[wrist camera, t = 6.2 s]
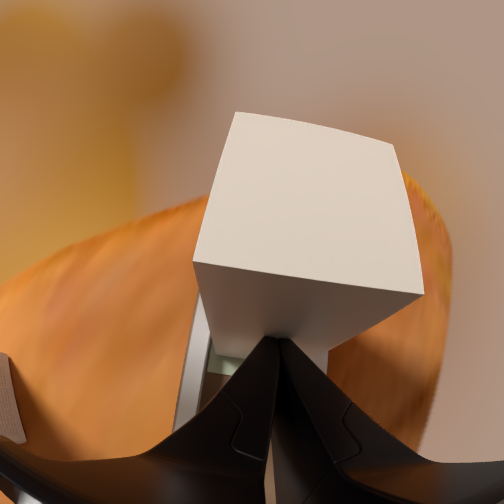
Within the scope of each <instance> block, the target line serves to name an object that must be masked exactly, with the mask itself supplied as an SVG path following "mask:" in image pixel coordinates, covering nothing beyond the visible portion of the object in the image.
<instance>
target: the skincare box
mask: <svg viewBox="0 0 504 504" xmlns="http://www.w3.org/2000/svg"><path fill="white" fill-rule="evenodd" d="M0 435H3V436H5V437H8V438H9V439H11V440H12V441H14V442H15V443H17V444H21V443H26V442H27V439H26V436H25V433H24V430H23V427H22V423H21V420H20V416H19V412H18V408H17V404H16V400H15V395H14V390H13V385H12V380H11V375H10V368H9V362H8V355H7V354H5V353H2V352H0Z"/></svg>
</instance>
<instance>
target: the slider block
mask: <svg viewBox="0 0 504 504" xmlns="http://www.w3.org/2000/svg"><path fill="white" fill-rule="evenodd" d="M193 265H194V270H195V274H196V278H197V283H198V287H199V291H200V295H201V299H202V303H203V307H204V311H205V315H206V319H207V323H208V327H209V330H210V334H211V338H212V341H213V345H214V349H215V352H216V355H222V356H229V357H235V358H242V359H246V357H247V356H248V355H249V354H250V352H251V351H252V350H253V349H254V347H255V346H256V345H257V343H258V342H259V341H260V340H261V338H262V337H263V336H270V337H276V338H277V339H278V338H286V339H291V340H292V341H293V342H294V343H295V344H296V345H297V346H298V347H299V348H300V349H301V350H302V351H303V352H304V353H305V354H306V355H307V356H308V357H309V358H310V359H313V358H315V357H317V356H319V355H321V354H323V353H325V352H327V351H329V350H331V349H333V348H335V347H336V346H338V345H340V344H342V343H344V342H346V341H348V340H350V339H351V338H353V337H355V336H357V335H359V334H361V333H362V332H364V331H366V330H368V329H369V328H371V327H373V326H375V325H376V324H378V323H380V322H381V321H383V320H385V319H386V318H388V317H390V316H391V315H393V314H395V313H396V312H398V311H399V310H401V309H403V308H404V307H406V306H407V305H409V304H410V303H412V302H414V301H415V300H417V299H418V298H420V297H421V296H423V295H424V287H423V279H422V271H421V264H420V257H419V251H418V245H417V239H416V234H415V229H414V224H413V219H412V214H411V210H410V205H409V201H408V197H407V193H406V189H405V185H404V181H403V177H402V174H401V170H400V167H399V164H398V160H397V157H396V153H395V150H394V147H393V145H392V144H389V143H386V142H382V141H379V140H376V139H372V138H369V137H365V136H361V135H358V134H354V133H350V132H345V131H342V130H338V129H334V128H329V127H325V126H320V125H315V124H310V123H306V122H301V121H295V120H290V119H284V118H278V117H272V116H265V115H258V114H251V113H243V112H235V115H234V119H233V122H232V125H231V128H230V131H229V134H228V137H227V140H226V143H225V147H224V150H223V153H222V156H221V160H220V163H219V166H218V169H217V173H216V176H215V180H214V183H213V187H212V190H211V193H210V197H209V200H208V204H207V208H206V211H205V215H204V218H203V222H202V226H201V230H200V233H199V237H198V241H197V245H196V249H195V253H194V257H193Z"/></svg>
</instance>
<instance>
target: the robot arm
mask: <svg viewBox="0 0 504 504" xmlns="http://www.w3.org/2000/svg"><path fill="white" fill-rule="evenodd" d="M270 439H271V444H272V457H273V470H274V483H275V496H276V504H504V461H493V462H476V463H440V462H434V461H431V460H428V459H426V458H423V457H422V456H420V455H418V454H417V453H416V452H414V451H413V450H411V449H410V448H409V447H407V446H406V445H405V444H403V443H402V442H400V441H399V440H398V439H396V438H395V437H394V436H392V435H391V434H390V433H388V432H387V431H386V430H385V429H383V428H382V427H381V426H380V425H378V424H377V423H376V422H375V421H373V420H372V419H371V418H370V417H369V416H368V415H367V414H366V413H365V412H363V411H362V410H361V409H360V408H359V407H358V406H357V405H356V404H355V403H354V402H352V400H351V399H350V398H349V397H348V396H347V395H346V394H345V393H344V392H343V391H342V390H341V389H340V388H339V387H338V386H337V385H336V384H335V383H334V382H333V381H332V380H331V379H330V378H329V377H328V376H327V375H326V374H325V373H324V372H323V371H322V370H321V369H320V368H319V367H318V366H317V365H316V364H315V363H314V362H313V361H312V360H311V359H310V358H309V357H308V356H307V355H306V354H305V353H304V352H303V351H302V350H301V349H300V348H299V347H298V346H297V345H296V344H295V343H294V342H293V341H292V340H291V339H286V338H278V339H277V338H276V337H270V336H263V337H262V338H261V340H260V341H259V342H258V343H257V345H256V346H255V347H254V349H253V350H252V351H251V352H250V354H249V355H248V356H247V357H246V359H245V360H244V361H243V362H242V363H241V365H240V366H239V367H238V368H237V370H236V371H235V372H234V373H233V374H232V376H231V377H230V378H229V379H228V381H227V382H226V383H225V384H224V385H223V387H222V388H221V389H220V390H219V391H218V392H217V393H216V395H215V396H214V397H213V398H212V399H211V400H210V401H209V402H208V403H207V404H206V406H205V407H204V408H203V409H202V410H201V411H199V412H198V413H197V414H196V415H195V416H194V417H192V418H191V419H190V420H189V421H188V422H186V423H185V424H184V425H183V426H181V427H180V428H179V429H177V430H176V431H175V432H173V433H172V434H171V435H170V436H168V437H167V438H166V439H164V440H163V441H162V442H160V443H159V444H157V445H156V446H155V447H153V448H152V449H150V450H148V451H146V452H144V453H142V454H139V455H136V456H131V457H123V458H113V459H102V460H85V461H60V460H53V459H48V458H44V457H42V456H39V455H36V454H34V453H32V452H30V451H28V450H26V449H25V448H23V447H22V446H20V445H18V444H17V443H15V442H14V441H12V440H11V439H9V438H8V437H5V436H3V435H0V490H1V491H2V492H3V493H4V494H5V495H6V496H7V497H8V498H9V499H10V500H12V501H13V502H14V503H15V504H266V497H265V486H264V481H265V471H266V464H267V459H268V452H269V446H270Z"/></svg>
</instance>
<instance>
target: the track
mask: <svg viewBox="0 0 504 504" xmlns="http://www.w3.org/2000/svg"><path fill="white" fill-rule="evenodd" d="M244 360H245V359H242V358H235V357H229V356H222V355H216V352H215V349H214V345H213V341H212V338H211V334H210V330H209V327H208V323H207V319H206V315H205V311H204V307H203V303H202V299H201V295H200V291H199V290H198V294H197V299H196V304H195V309H194V313H193V318H192V323H191V328H190V333H189V338H188V343H187V348H186V354H185V359H184V364H183V370H182V375H181V381H180V387H179V392H178V398H177V404H176V410H175V416H174V423H173V429H172V433H173V432H175V431H176V430H177V429H179V428H180V427H181V426H183V425H184V424H185V423H186V422H188V421H189V420H190V419H191V418H192V417H194V416H195V415H196V414H197V413H198V412H199V411H201V410H202V409H203V408H204V407H205V406H206V404H207V403H208V402H209V401H210V400H211V399H212V398H213V397H214V396H215V395H216V393H217V392H218V391H219V390H220V389H221V388H222V387H223V385H224V384H225V383H226V382H227V381H228V379H229V378H230V377H231V376H232V374H233V373H234V372H235V371H236V370H237V368H238V367H239V366H240V365H241V363H242V362H243V361H244ZM311 360H312V361H313V362H314V363H315V364H316V365H317V366H318V367H319V368H320V369H321V370H322V371H323V372H324V373H325V374H326V375H327V364H328V351H327V352H325V353H323V354H321V355H319V356H317V357H315V358H313V359H311ZM264 486H265V497H266V504H276V496H275V483H274V470H273V457H272V444H271V439H270V446H269V452H268V459H267V464H266V471H265V481H264Z"/></svg>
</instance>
